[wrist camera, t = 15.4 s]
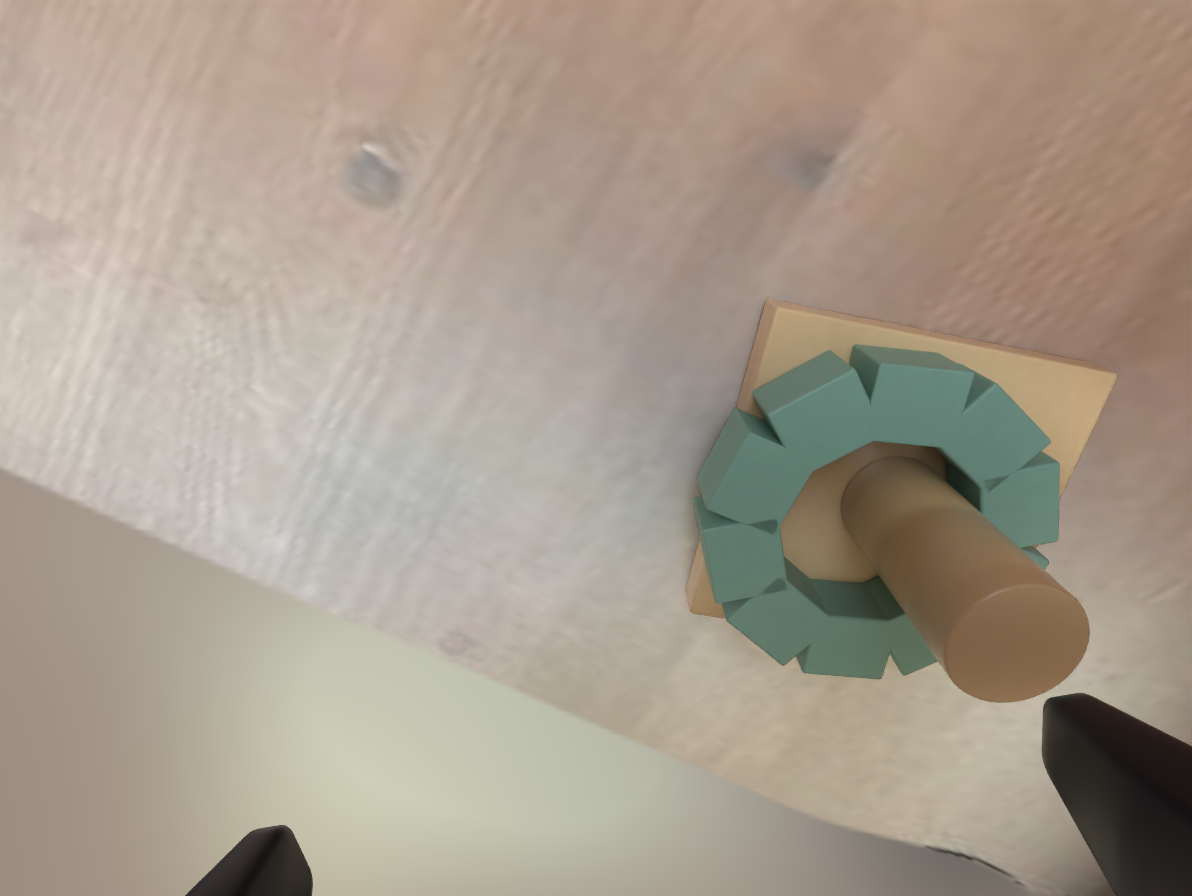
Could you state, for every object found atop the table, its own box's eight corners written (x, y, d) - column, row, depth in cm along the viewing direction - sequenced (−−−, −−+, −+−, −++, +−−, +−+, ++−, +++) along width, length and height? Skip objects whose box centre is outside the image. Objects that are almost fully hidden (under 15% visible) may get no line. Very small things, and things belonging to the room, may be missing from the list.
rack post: (964, 636, 22) (1129, 848, 15) (684, 590, 21) (726, 790, 14) (1089, 361, 19) (1369, 473, 12) (765, 297, 18) (868, 377, 11)
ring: (1018, 309, 17) (1064, 326, 15) (1018, 609, 20) (1057, 650, 18) (670, 381, 17) (679, 404, 16) (722, 661, 20) (734, 706, 19)
